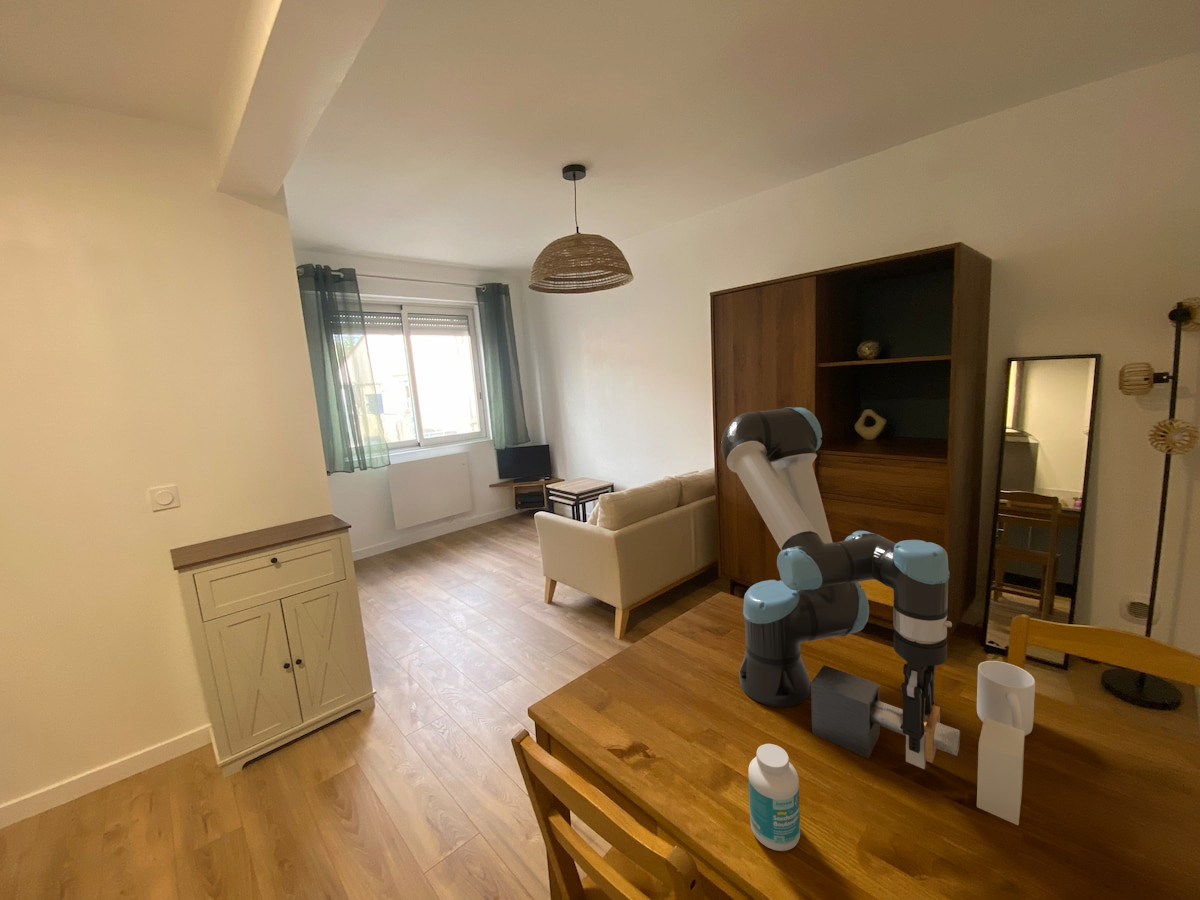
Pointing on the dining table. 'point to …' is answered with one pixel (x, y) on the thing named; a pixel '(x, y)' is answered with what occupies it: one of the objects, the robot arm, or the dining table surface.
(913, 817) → the dining table surface
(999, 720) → the mug
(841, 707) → the sleeve
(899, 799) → the dining table surface
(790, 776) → the pill bottle
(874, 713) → the tube
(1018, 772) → the socket block
